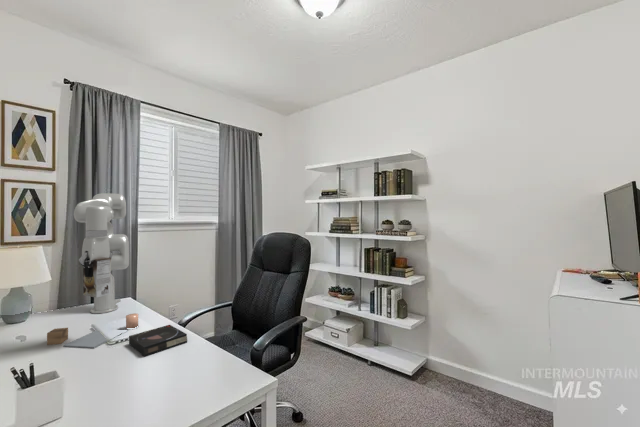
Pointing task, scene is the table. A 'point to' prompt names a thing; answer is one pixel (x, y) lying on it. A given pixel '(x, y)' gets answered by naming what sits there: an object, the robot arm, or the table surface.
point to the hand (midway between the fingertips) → (97, 274)
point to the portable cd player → (157, 340)
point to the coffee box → (98, 279)
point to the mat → (88, 341)
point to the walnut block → (57, 336)
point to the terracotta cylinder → (132, 320)
